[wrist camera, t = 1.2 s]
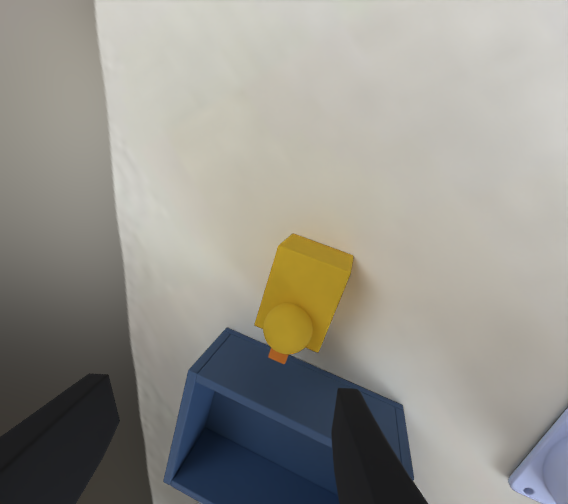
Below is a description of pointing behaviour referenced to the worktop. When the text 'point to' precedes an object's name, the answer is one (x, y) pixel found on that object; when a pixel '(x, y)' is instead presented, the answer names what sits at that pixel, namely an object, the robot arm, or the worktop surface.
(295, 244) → the duck
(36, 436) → the robot arm
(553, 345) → the worktop surface
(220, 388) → the open box
